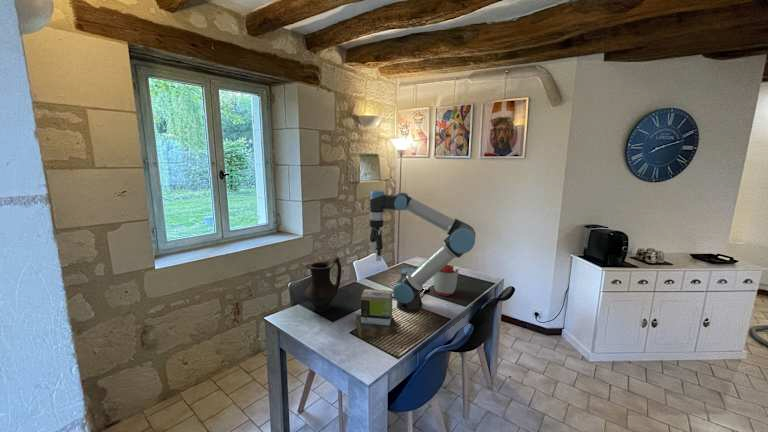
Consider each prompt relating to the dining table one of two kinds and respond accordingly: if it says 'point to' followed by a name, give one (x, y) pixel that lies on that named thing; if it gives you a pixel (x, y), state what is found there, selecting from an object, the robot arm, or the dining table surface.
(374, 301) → the tea box
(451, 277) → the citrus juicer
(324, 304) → the jug
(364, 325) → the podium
